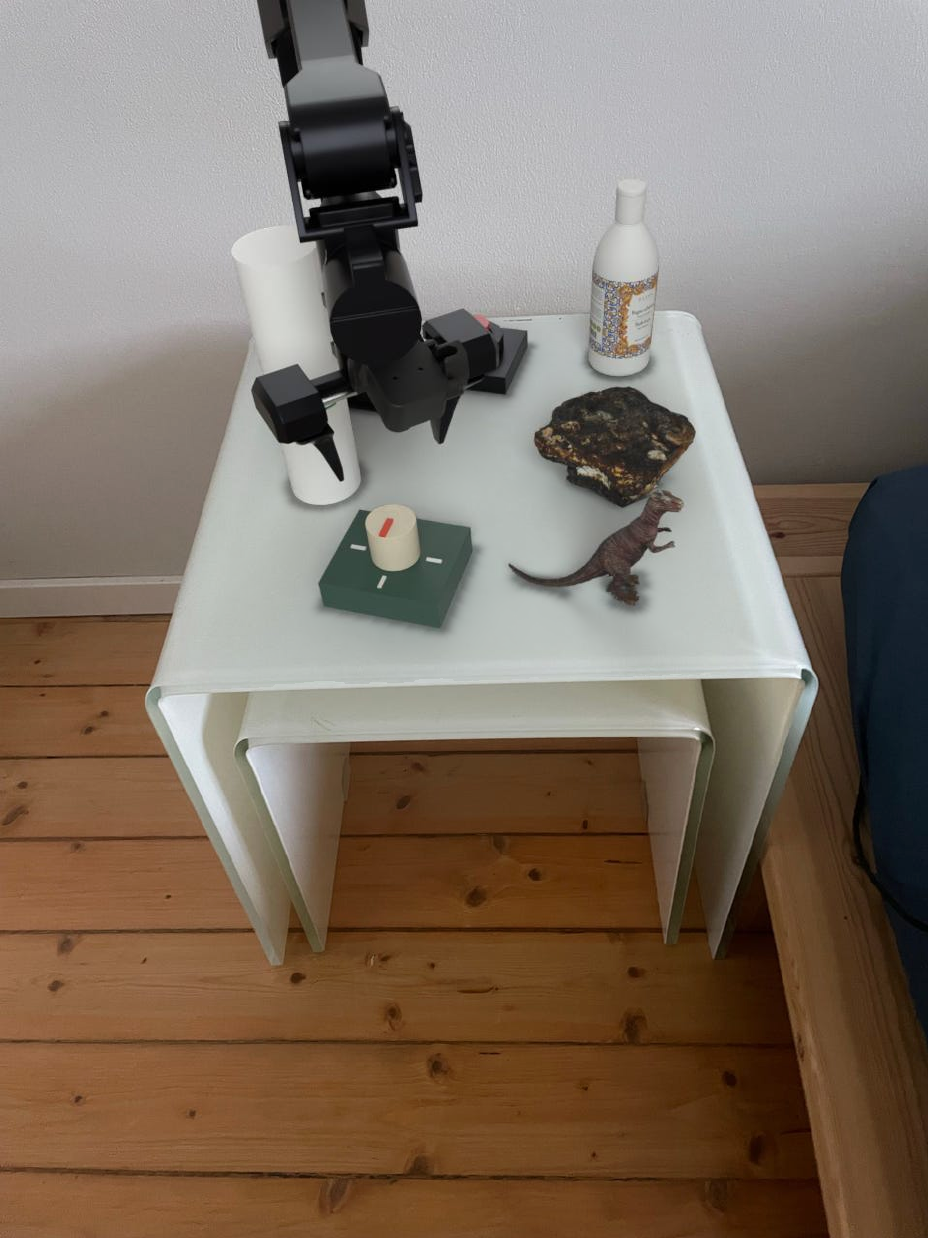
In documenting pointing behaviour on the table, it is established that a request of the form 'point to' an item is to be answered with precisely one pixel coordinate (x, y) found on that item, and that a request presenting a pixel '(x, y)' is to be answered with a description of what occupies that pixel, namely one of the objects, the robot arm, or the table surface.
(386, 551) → the dial knob
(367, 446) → the table surface
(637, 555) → the dinosaur model
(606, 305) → the bath foam
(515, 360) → the button box
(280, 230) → the cylindrical container
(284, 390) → the robot arm
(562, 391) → the table surface
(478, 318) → the button
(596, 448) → the fossil rock
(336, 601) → the dial panel
